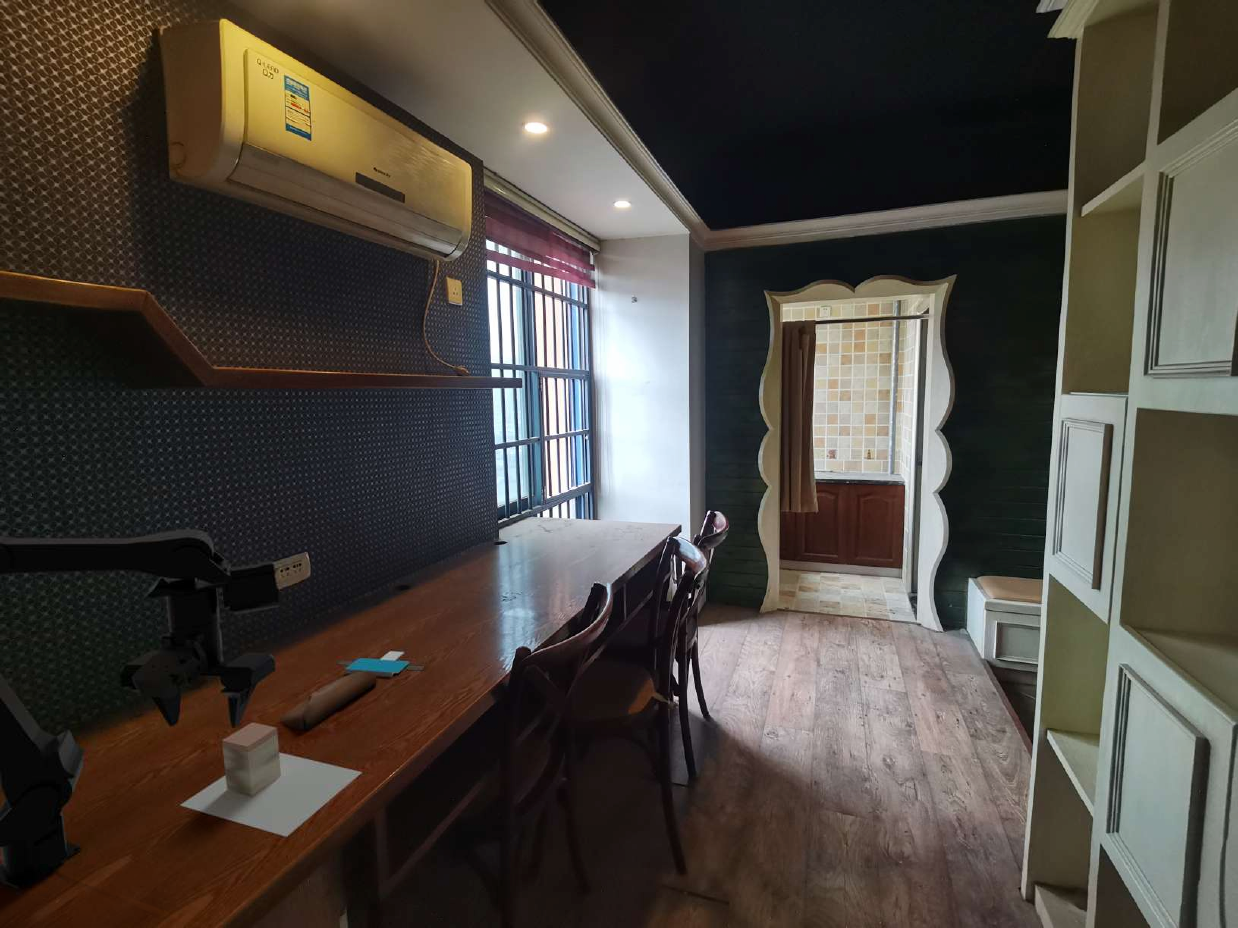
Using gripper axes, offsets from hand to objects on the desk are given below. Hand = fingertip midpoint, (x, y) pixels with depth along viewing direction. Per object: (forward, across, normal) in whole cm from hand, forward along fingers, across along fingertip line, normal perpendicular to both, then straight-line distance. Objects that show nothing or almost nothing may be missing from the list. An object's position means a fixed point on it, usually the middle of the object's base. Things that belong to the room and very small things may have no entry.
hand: (204, 725), depth 83 cm
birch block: (+12, +3, +5) cm, 13 cm away
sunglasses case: (+13, +1, +28) cm, 31 cm away
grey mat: (+13, +7, +4) cm, 15 cm away
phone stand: (+13, +4, +45) cm, 47 cm away
